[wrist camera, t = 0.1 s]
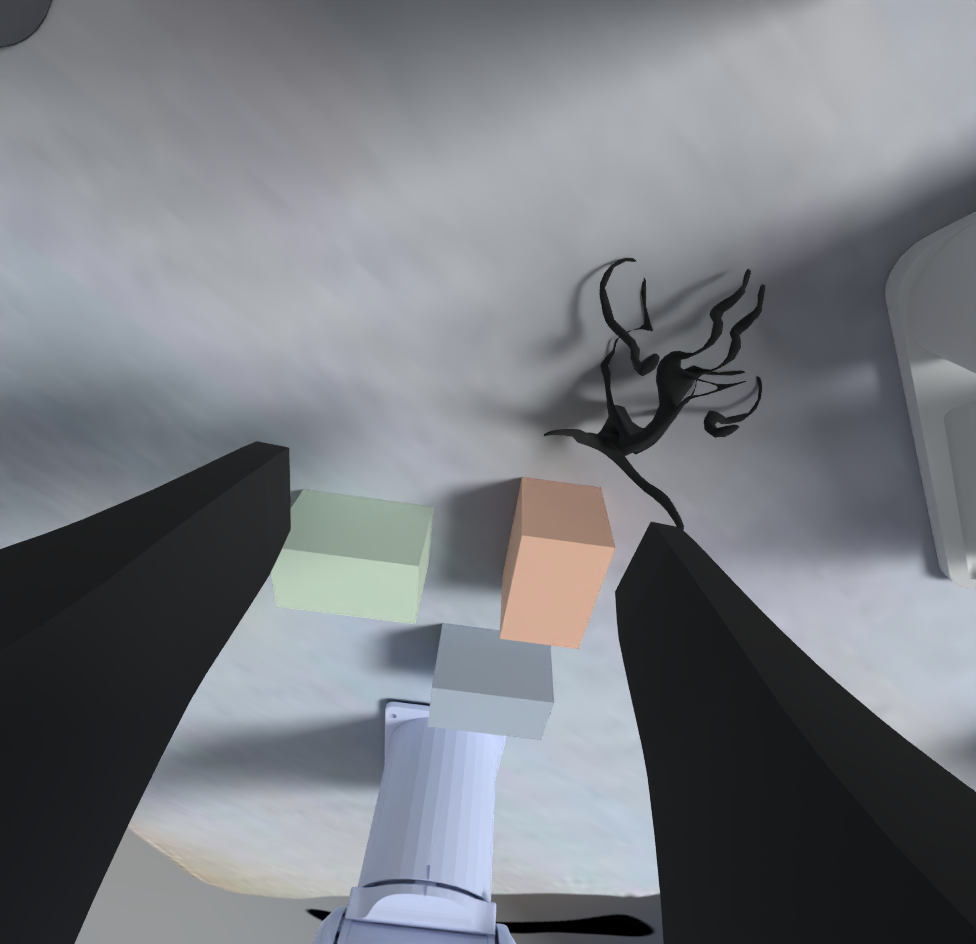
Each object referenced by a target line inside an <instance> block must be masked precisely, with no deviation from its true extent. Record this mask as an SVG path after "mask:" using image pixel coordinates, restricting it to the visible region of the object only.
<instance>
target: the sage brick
mask: <svg viewBox="0 0 976 944" xmlns="http://www.w3.org/2000/svg"><path fill="white" fill-rule="evenodd" d="M433 507H434V506H426V505H419V504H411V503H404V502H396V501H389V500H381V499H374V498H366V497H359V496H351V495H344V494H336V493H329V492H321V491H314V490H306V489H303V491H302V492H301V494H300V495H299V497H298V498H297V500H296V501H295V503H294V505H293V506H292V508H291V509H290V511H291V530H290V532H289V534H288V537H287V539H286V541H285V543H284V546H283V548H282V550H281V552H280V554H279V556H278V559H277V561H276V563H275V565H274V567H273V569H272V571H271V576H272V582H273V588H274V594H275V599H276V605H277V607H283V608H291V609H299V610H307V611H314V612H322V613H330V614H338V615H346V616H354V617H362V618H370V619H377V620H385V621H393V622H401V623H409V624H415V623H416V619H417V614H418V610H419V605H420V601H421V596H422V592H423V587H424V583H425V578H426V574H427V569H428V565H429V558H430V545H431V532H432V520H433Z"/></svg>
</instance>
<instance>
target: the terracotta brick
mask: <svg viewBox="0 0 976 944" xmlns="http://www.w3.org/2000/svg"><path fill="white" fill-rule="evenodd" d="M614 550H615V545H614V541H613V536H612V532H611V528H610V524H609V520H608V515H607V511H606V507H605V503H604V499H603V495H602V490H601V488H599V487H591V486H584V485H576V484H569V483H562V482H554V481H547V480H539V479H532V478H525V477H522V479H521V484H520V489H519V495H518V500H517V505H516V510H515V515H514V520H513V525H512V530H511V535H510V540H509V545H508V550H507V555H506V560H505V565H504V570H503V578H502V600H501V622H500V639H506V640H513V641H521V642H529V643H537V644H544V645H552V646H560V647H567V648H575V649H579V647H580V644H581V641H582V638H583V635H584V633H585V630H586V627H587V624H588V622H589V619H590V616H591V613H592V611H593V608H594V605H595V602H596V600H597V597H598V594H599V591H600V589H601V586H602V583H603V580H604V578H605V575H606V572H607V569H608V567H609V564H610V561H611V558H612V556H613V553H614Z"/></svg>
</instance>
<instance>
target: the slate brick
mask: <svg viewBox="0 0 976 944" xmlns="http://www.w3.org/2000/svg"><path fill="white" fill-rule="evenodd" d="M553 704H554V695H553V679H552V662H551V646H550V645H544V644H537V643H529V642H521V641H513V640H506V639H500V630H493V629H485V628H477V627H470V626H462V625H454V624H446V623H442V629H441V635H440V641H439V647H438V653H437V659H436V665H435V671H434V677H433V683H432V690H431V700H430V710H429V720H428V727H436V728H444V729H452V730H461V731H469V732H477V733H485V734H493V735H501V736H509V737H517V738H525V739H533V740H541V739H542V736H543V733H544V730H545V727H546V724H547V721H548V719H549V716H550V713H551V710H552V707H553Z"/></svg>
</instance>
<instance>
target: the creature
mask: <svg viewBox="0 0 976 944" xmlns="http://www.w3.org/2000/svg"><path fill="white" fill-rule="evenodd" d="M625 261H632V262H635V261H636V260H635V259H633V258H624V259H621V260H618V261H617V262H615V263H614V264H612V265H611V266H610V267H609V268H608V270H607V271H606V272H605V273H604V276H603V278H602V280H601V282H600V294H599V295H600V300H601V306H602V311H603V315H604V318H605V321H606V323H607V324H608V326H609V327H610V328H611V329H612V330H613V332H614V333H615V334H616V335H618V336H619V338H621V339H622V340H623V341H624V342H625V343H626V344H627V345H628V346H629V348H630V350H631V360H632V363H633V366H634V369H635V370H636V371H637V373H638V374H639V375H641V376H644V375H646V374H648V373H649V372H651V371H652V370H654V369H655V367H656V366H657V364H658V362H659V356H658V354H652V355H651V356H649V357H647V358H646V359H645V360H643V361H642V362H641V361H640V359H639V353H640V349H639V347H638V346H637V343H636V341H635V339H633V338H632V337H631V336H630V335H629V333H628V332H630V331H631V330H630V331H628V332H627V331H626V330H624V329H623V328H622V327H621V326H620V325H619V324H618V323H617V322H616V321H615V320H614V317H613V314H612V310H611V307H610V304H609V300H608V297H607V293H606V290H605V286H606V284H607V282H608V279H609V277H610V275H611V273H612V271H613V268H614V267H616V266H617V265H619V264H621V263H623V262H625ZM636 262H637V261H636ZM750 274H751V270H749V269H747V271H746V273H745V275H744V279H743V285H742V287H741V288H740V289H739V290H737V291H736V292H735V293H734V294H733V295H731V296H730V297H728V298H726V299H725V300H723V301H721V302H720V303H718V304H717V305H716V306H715V307H713V308H712V309H711V311H710V317H711V319H712V321H713V322H714V323H713V328H712V333H711V337H710V339H709V340H708V341H707V343H706V344H705V345H704V347H703V348H701V349H699V350H697V351H696V352H694V353H685V352H681V351H674V352H671V353H669V354H668V355H666V356H665V357H664V358H663V359H662V360H661V361H660V363H659V365H658V368H657V374H656V383H657V387H658V394H659V403H660V405H659V407H658V409H657V412H656V414H655V416H654V419H653V420H652V421H651V422H650V423H649V424H648V425H647V426H646V427H645V428H641V427H639V426H637V425H636V424H635V423H633V422H632V420H631V419H630V417H629V415H628V413H627V411H626V409H625V407H622V406H618V405H614V403H613V399H612V395H611V390H610V376H611V373H610V370H609V367H608V365H609V362H610V359H611V358H612V356H613V355H614V353H615V347H616V343H617V341H618V339H619V338H617V339H616V340H615V343H614V348H613V350H612V351H611V353H610V354H609V355H608V356H607V357H606V358H605V359H604V361H603V362H602V364H601V370H602V373H603V376H604V381H605V388H606V397H607V409H608V415H609V416H608V419H607V421H606V423H605V425H604V426H603V428H602V430H601V431H600V432H599V433H598V434H594V433H585V432H584V431H582V430H579V429H561V430H554V431H550V432H547V433H545V434H544V436H548V435H566V436H572V437H573V438H574V439H575V440H576V441H577V442H578V443H581V444H584V445H587V446H590V447H592V448H595V449H597V450H599V451H601V452H602V453H604V454H605V455H606V456H608V457H609V458H610V459H612V460H613V461H614V462H615V463H616V464H617V465H618V466H619V467H620V468H621V469H622V470H623V471H624V472H625V473H626V474H627V475H628V476H629V477H630V478H631V479H632V480H633V481H634V482H635V483H636V484H637V485H638V486H639V487H640V488H641V489H642V490H643V491H644V492H646V493H647V494H649V495H650V496H652V497H653V498H654V499H655V500H656V501H657V502H659V503H660V504H661V505H662V506H663V507H664V509H665V510H666V511H667V512H668V513H669V515H670V516H671V518H672V519H673V521H674V522H675V524H676V526H677V527H679V528H681V529H682V530H684V525H683V522H682V520H681V518H680V515H679V514H678V512H677V510H676V508H675V507H674V505H673V503H672V502H671V500H670V499H669V497H668V496H667V495H666V494H665V493H663V492H662V491H661V490H659V489H658V488H656V487H655V486H653V485H651V484H650V483H648V482H647V481H646V480H645V479H644V478H642V477H641V476H640V475H639V473H638V472H637V471H636V470H635V469H634V468H633V466H632V465H631V464H630V463H629V461H628V460H627V459H626V457H625V456H626V455H628V454H631V453H634V454H638V453H640V452H642V451H644V450H646V449H648V448H649V447H651V446H652V445H654V444H655V443H656V442H657V441H658V440H659V439H660V438H661V437H662V435H663V434H664V433H665V432H666V430H667V429H668V427H669V426H670V424H671V423H672V422H673V421H674V419H675V418H676V417H677V415H678V414H679V412H680V411H681V409H682V408H683V406H684V405H685V404H686V403H688V402H689V400H690V399H692V398H695V397H699V396H704V395H708V394H711V393H714V392H717V391H721V390H723V389H726V388H729V387H732V386H735V385H737V384H740V383H743V382H746V381H743V382H738V383H733V384H715V383H711V382H707V381H704V380H700V379H698V378H699V377H700V376H701V375H703V374H708V375H736V374H742V373H745V372H744V371H730V372H721V373H717V372H712V371H714V370H716V369H719V368H721V367H722V366H724V365H726V364H727V363H729V362H730V361H732V360H733V359H735V357H736V355H737V353H738V352H739V350H740V348H741V339H740V334H741V333H742V332H743V331H745V330H746V329H747V328H748V327H749V326H750V325H751V324H752V323H753V322H754V320H755V319H756V318H757V317H758V316H759V315H760V313H761V311H762V304H763V298H764V291H765V285H764V284H762V285H761V286H760V289H759V293H758V303H757V307H756V308H755V309H754V311H752V312H751V313H750V314H748V315H747V316H745V317H744V318H743V319H741V320H740V321H739V322H738V323H736V324H735V325H734V326H733V327H732V329H731V331H730V336H731V339H732V341H731V345H730V349H729V352H728V356H727V358H726V359H725V360H724V362H723V363H722V364H720V365H719V366H718V367H716V368H714V369H712V370H709V369H702V368H700V367H697V366H694V365H693V366H691V367H689V368H687V369H682V368H681V360H683V359H687V358H689V357H691V356H694V355H696V354H698V353H700V352H702V351H704V350H705V349H707V348H709V347H710V346H712V345H713V344H714V343H715V342H716V340H717V339H718V338H719V336H720V335H721V334H722V329H723V322H722V319H721V317H722V315H723V313H724V312H725V311H727V310H728V309H729V308H731V307H732V306H733V305H734V304H735V303H736V302H737V301H738V300H739V299H740V298H741V297H742V296H743V295H744V293H745V288H746V286H747V284H748V281H749V277H750ZM642 300H643V306H644V312H645V324H644V325H643V326H642V327H640V328H638V329H645V330H650V331H653V329H652V327H651V324H650V320H649V316H648V312H647V309H646V280H645V278H644V281H643V284H642ZM634 330H637V329H634ZM756 377H757V376H756ZM694 380H696V382H697V380H698V381H702V382H707V383H711V384H713V385H716V386H717V389H716V390H715V391H712V392H709V393H705V394H701V395H693V394H694V391H695V389H694V391H693V393H692V394H691V396H689V397H687V398H685V399H684V400H683V401H682V399H683V397H684V396H685V395H686V393H687V392H688V391H689V389H690V388H691V387H692V385H693V382H694ZM757 381H758V384H759V394H758V400H757V402H756V403H755V405H754V406H753V408H752V409H751V410H750V412H749V413H745V414H741V415H736V416H732V417H728V418H726V417H724V416H723V415H721V414H720V413H718V412H715V411H709V412H708V413H707V415H706V417H705V419H704V429H705V430H706V431H707V432H708V433H709V434H711V435H712V436H713V437H715V438H717V437H725V436H727V435H730V434H731V433H733V432H734V431H736V430H737V429H738V428H739V427H740V426H738V425H729V426H724V427H720V428H717V427H716V426H715V424H716V423H717V421H718V422H719V423H721V424H731V423H736V422H740V421H742V420H744V419H745V418H746V417H748V416H749V415H750V414H752V413H753V412H754V411H755V409H756V408H757V406H758V404H759V401H760V399H761V393H762V382H761V379H760V377H757ZM695 388H696V385H695ZM692 395H693V396H692ZM681 401H682V402H681Z"/></svg>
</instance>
